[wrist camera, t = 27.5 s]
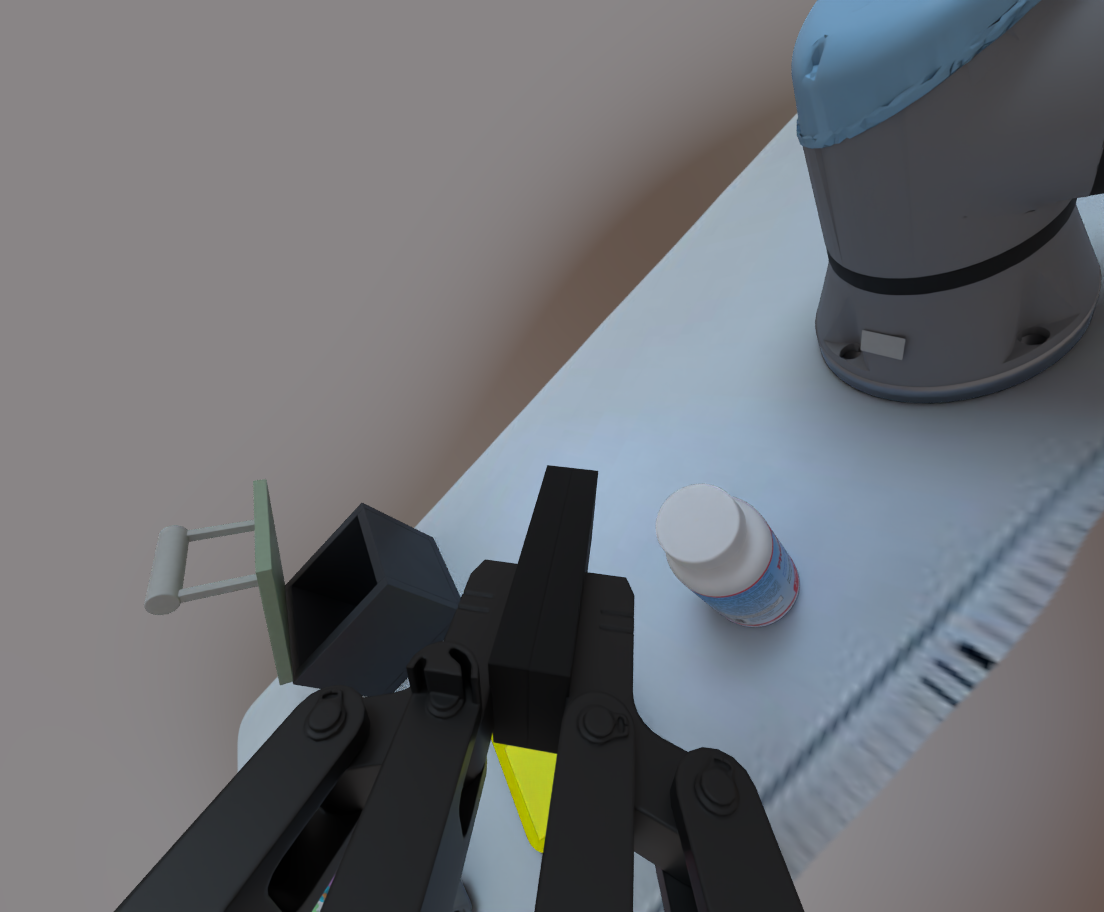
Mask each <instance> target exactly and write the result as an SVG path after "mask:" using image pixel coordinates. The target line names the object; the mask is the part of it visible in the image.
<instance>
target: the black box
mask: <svg viewBox="0 0 1104 912" xmlns="http://www.w3.org/2000/svg"><path fill="white" fill-rule="evenodd" d="M285 592H286V603H287V614H288V626H289V637H290V649H291V660H292V671H293V684H295V685H301V686H307V687H313V688H319V689H322V688H325V687H328V686H335V685H344V686H348V687H353V688H354V689H355V690H356V691H357V692H359V693H360V694H361V695H362V696H368V697H371V696H377V695H383V694H390V693H393V692H394V691H395V690H396V689H397V688H398V687H399V686H400V685H401V684H402V683H403V681H404V680H405V679H406V678H407V677H408V674H407V669H406V666H407V665H408V663H409V662H410V660H411V659H412V657H413V656H414V655H415V654H416V653H417V652H419V651H420V650H421V649H423V648H424V647H425V646H427V645H430V644H433V643H436V642H439V641H443V640H444V639H445V636H446V634H447V631H448V629H449V626H450V624H451V622H452V619H453V617H454V614H455V612H456V609H458V604H459V602H460V599H461V597H460V595H459V593H458V591H457V589H456V587H455V584H454V582H453V580H452V578H451V576H450V574H449V571H448V569H447V567H446V565H445V563H444V560H443V558H442V556H441V554H440V552H439V550H438V547H437V545H436V543H435V541H434V539H433V537H431V536H429V535H426V534H425V533H422V532H420V531H418V530H416V529H414V528H412V527H410V526H408V525H406V524H404V523H402V522H400V521H398V520H396V519H394V518H392V517H390V516H388V515H386V514H384V513H382V512H380V511H378V510H376V509H374V508H372V507H370V506H368V505H366V504H364V503H361V504H360V505H359V506H358V507H357V508H356V509H355V511H354V512H353V513H352V514H351V515H350V516H349V517H348V518H347V519H346V520H345V521H344V523H343V524H342V525H341V526H340V527H339V528H338V529H337V530H336V531H335V532H334V533H333V534H332V535H331V537H330V538H329V539H328V540H327V541H326V542H325V543H324V544H323V545H322V546H321V547H320V548H319V549H318V551H317V552H316V553H315V554H314V555H313V556H312V557H311V558H310V559H309V560H308V561H307V562H306V564H305V565H304V566H303V567H302V568H301V569H300V570H299V571H298V572H297V573H296V574H295V576H294V577H293V578H292V579H291V580H290V581H289V582H288V583H287V584H286V585H285Z"/></svg>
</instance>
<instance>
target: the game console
mask: <svg viewBox="0 0 1104 912" xmlns="http://www.w3.org/2000/svg"><path fill="white" fill-rule="evenodd" d="M491 740H492V743H493V746H494V748H495V751H496V754H497V757H498V759H499V762H500V765H501V767H502V770H503V773H504V776H505V778H506V781H507V784H508V787H509V789H510V792H511V795H512V798H513V800H514V803H515V806H516V809H517V811H518V814H519V817H520V819H521V822H522V825H523V828H524V830H525V833H526V836H527V838H528V840H529V842H530V844H531V846H532V847H533V848H535V849H536V850H537V851H539V852H541V853H543V849H544V842H545V835H546V828H547V821H548V814H549V807H550V800H551V793H552V786H553V779H554V772H555V765H556V758H557V754H554V753H548V752H543V751H538V750H532V749H527V748H521V747H516V746H510V745H505V744H499V743H494V742H493V733H492V737H491Z"/></svg>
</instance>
